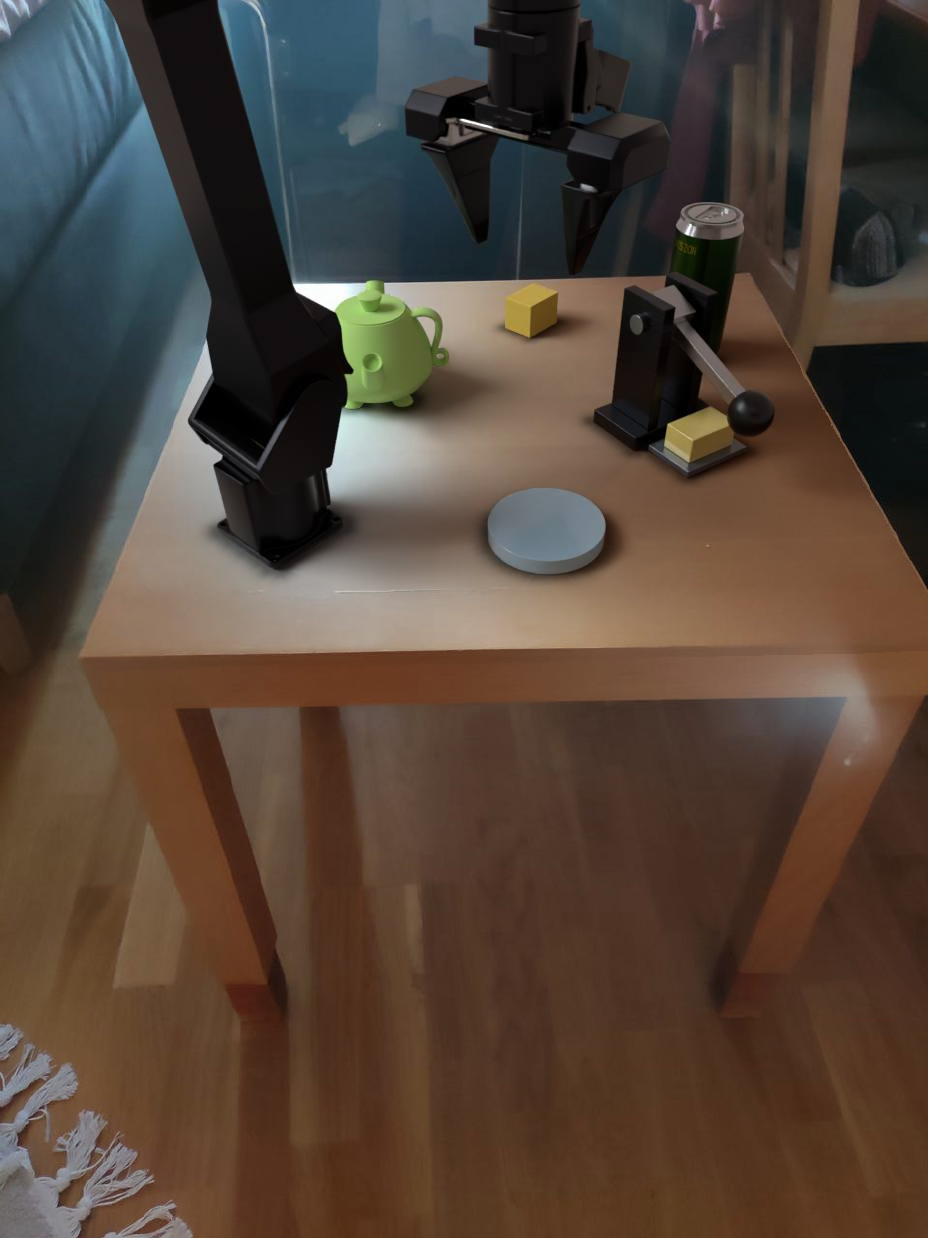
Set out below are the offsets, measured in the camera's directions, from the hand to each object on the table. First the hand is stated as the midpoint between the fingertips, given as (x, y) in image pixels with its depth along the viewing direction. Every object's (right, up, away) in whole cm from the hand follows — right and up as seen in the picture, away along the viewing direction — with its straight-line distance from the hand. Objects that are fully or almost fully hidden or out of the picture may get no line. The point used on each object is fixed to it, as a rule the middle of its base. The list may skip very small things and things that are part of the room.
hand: (526, 257), depth 65 cm
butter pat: (+2, +1, +18) cm, 18 cm away
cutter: (+10, -11, +6) cm, 16 cm away
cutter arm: (+13, -9, -1) cm, 16 cm away
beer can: (+15, -3, +14) cm, 21 cm away
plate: (+1, -21, -4) cm, 21 cm away
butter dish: (+13, -14, +3) cm, 19 cm away
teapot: (-13, -7, +10) cm, 18 cm away
